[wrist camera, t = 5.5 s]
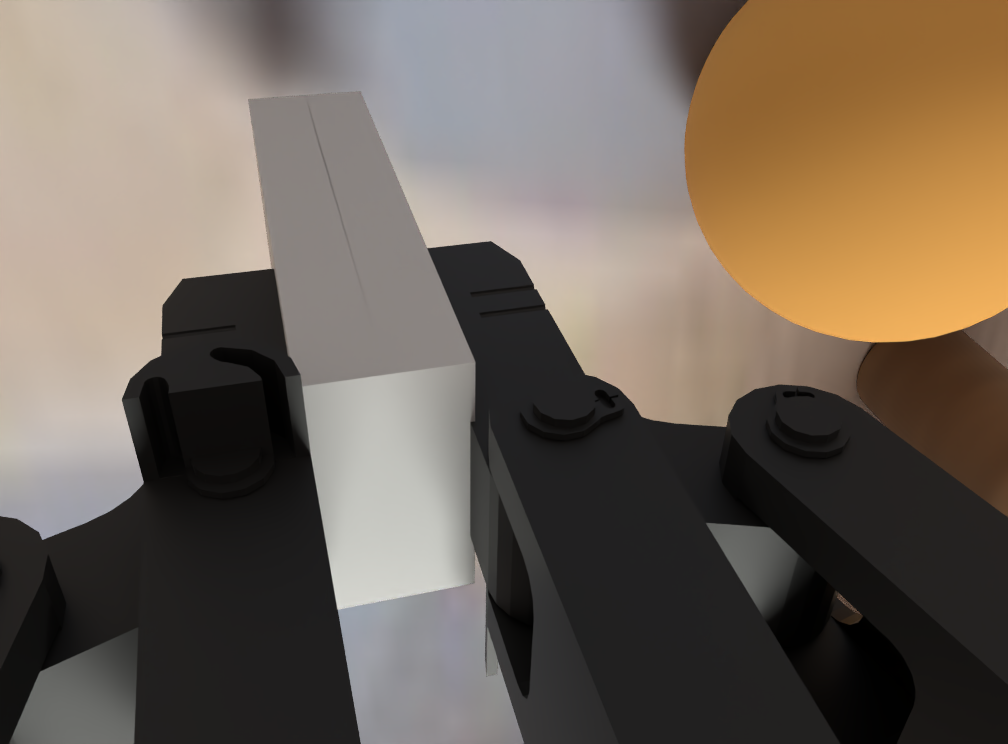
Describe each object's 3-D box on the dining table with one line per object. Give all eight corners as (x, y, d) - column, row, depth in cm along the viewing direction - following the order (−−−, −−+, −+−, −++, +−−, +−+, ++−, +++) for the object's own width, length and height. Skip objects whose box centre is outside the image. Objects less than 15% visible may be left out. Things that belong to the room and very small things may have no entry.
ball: (1106, 307, 16) (799, 191, 20) (1269, -77, 13) (855, -135, 16) (924, 485, 13) (598, 309, 17) (1070, 45, 9) (611, -61, 13)
